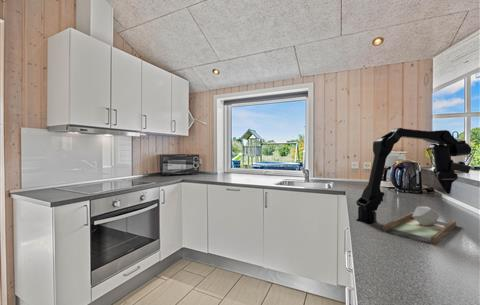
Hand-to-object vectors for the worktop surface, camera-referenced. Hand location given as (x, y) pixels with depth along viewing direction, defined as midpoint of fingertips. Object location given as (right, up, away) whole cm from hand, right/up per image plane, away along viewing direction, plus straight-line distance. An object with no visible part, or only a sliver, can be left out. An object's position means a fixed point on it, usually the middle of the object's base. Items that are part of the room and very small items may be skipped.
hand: (446, 191), depth 99 cm
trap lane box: (-18, -15, -7) cm, 24 cm away
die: (-13, -14, -3) cm, 19 cm away
